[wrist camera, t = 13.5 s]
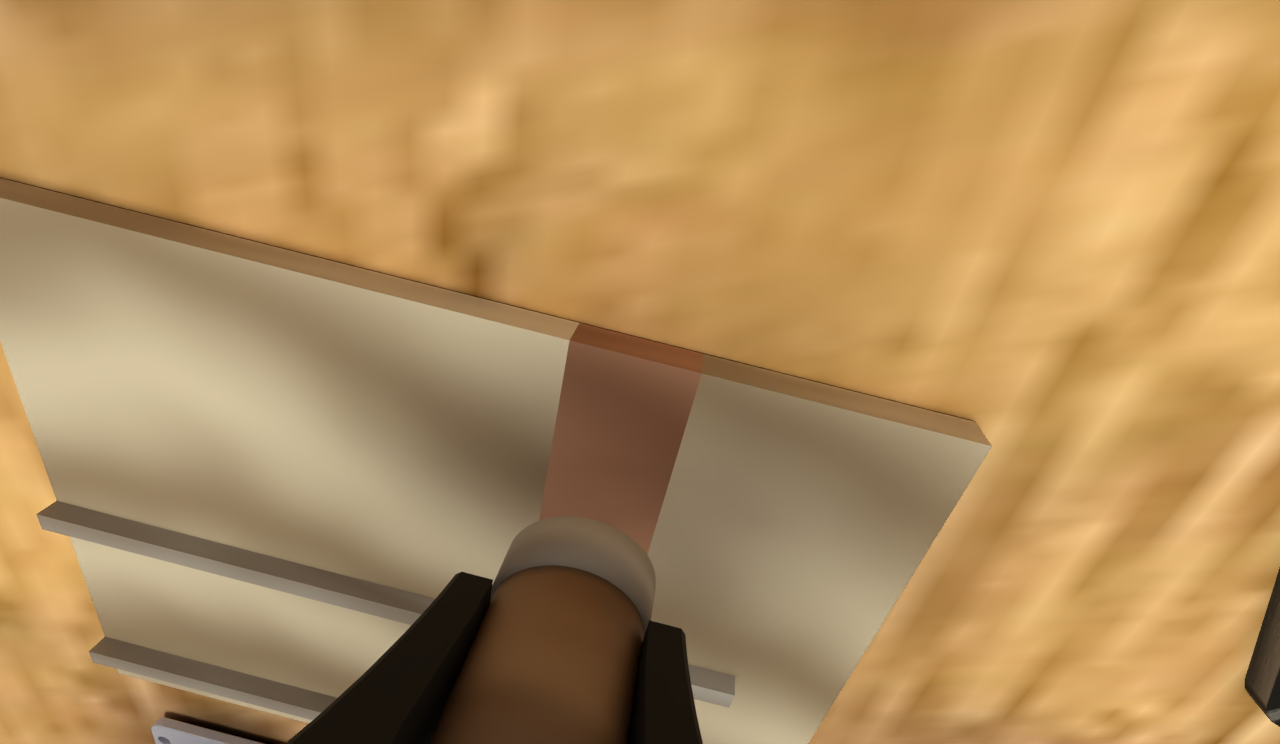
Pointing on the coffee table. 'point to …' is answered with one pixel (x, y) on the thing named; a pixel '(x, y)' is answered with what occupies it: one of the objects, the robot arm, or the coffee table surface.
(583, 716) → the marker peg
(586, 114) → the coffee table surface
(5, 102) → the coffee table surface
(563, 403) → the cream ridged tray
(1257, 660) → the phone
